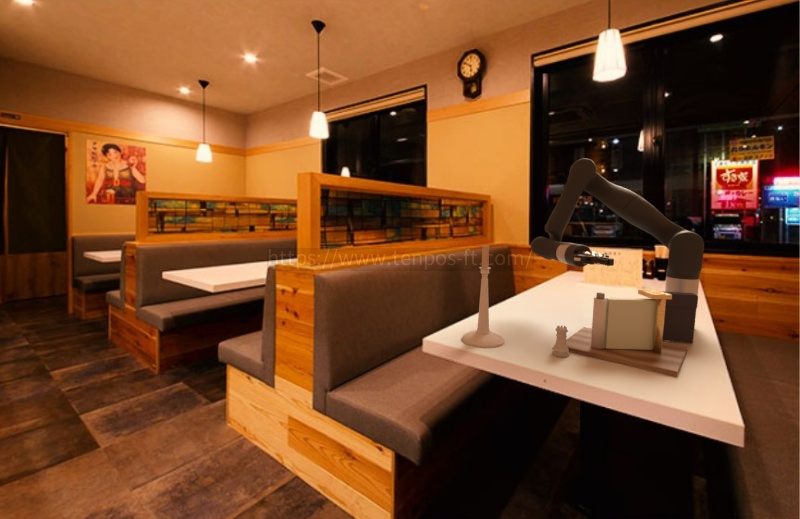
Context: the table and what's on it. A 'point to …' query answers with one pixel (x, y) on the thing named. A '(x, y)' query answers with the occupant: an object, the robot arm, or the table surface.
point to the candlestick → (483, 313)
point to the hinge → (623, 323)
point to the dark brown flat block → (680, 317)
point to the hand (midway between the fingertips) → (611, 262)
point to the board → (631, 354)
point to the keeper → (657, 315)
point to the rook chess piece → (561, 342)
